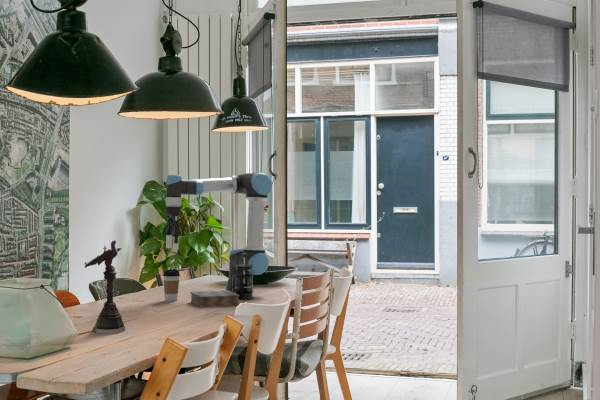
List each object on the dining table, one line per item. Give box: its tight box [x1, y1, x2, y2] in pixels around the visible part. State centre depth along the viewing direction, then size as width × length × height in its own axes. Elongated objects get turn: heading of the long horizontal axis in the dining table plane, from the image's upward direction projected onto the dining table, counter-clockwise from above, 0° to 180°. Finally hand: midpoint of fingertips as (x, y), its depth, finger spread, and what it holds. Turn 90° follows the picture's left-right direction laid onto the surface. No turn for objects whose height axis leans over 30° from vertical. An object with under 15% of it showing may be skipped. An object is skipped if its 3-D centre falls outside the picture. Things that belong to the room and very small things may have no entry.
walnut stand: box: [189, 289, 240, 308], centre depth 349 cm, size 19×19×5 cm
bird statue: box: [84, 240, 126, 335], centre depth 275 cm, size 17×13×35 cm
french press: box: [231, 253, 254, 301], centre depth 368 cm, size 12×9×23 cm
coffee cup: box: [162, 268, 181, 302], centre depth 357 cm, size 8×8×15 cm
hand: (172, 249), depth 358 cm, fingers open, 13 cm apart
